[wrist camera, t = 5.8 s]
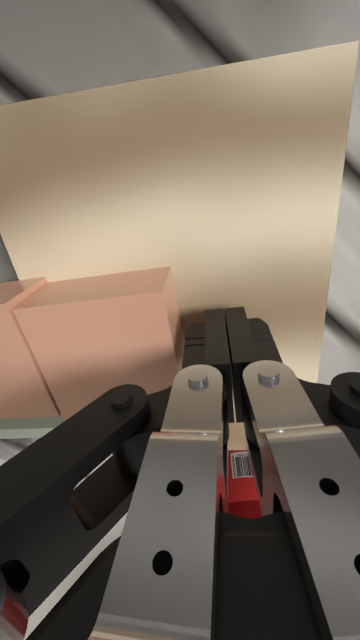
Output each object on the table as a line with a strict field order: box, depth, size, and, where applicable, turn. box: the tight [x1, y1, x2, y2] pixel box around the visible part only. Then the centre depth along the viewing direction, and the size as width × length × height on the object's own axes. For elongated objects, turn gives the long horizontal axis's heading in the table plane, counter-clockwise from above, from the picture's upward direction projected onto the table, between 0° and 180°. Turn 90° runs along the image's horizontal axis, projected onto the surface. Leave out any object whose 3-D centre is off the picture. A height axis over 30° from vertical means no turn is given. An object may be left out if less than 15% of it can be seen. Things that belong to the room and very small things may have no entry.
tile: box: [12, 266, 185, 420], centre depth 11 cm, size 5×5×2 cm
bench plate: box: [0, 40, 359, 450], centre depth 14 cm, size 16×12×4 cm
